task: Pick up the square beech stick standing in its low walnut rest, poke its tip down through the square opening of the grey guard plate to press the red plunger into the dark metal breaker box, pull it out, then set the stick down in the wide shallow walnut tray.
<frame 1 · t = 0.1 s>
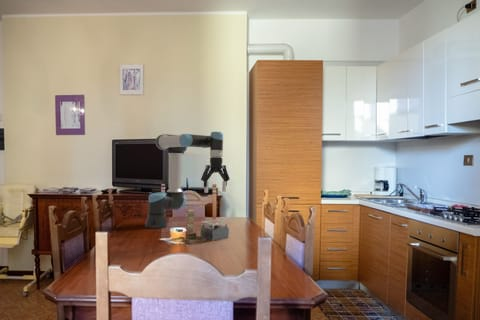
hand: (215, 192, 190), 28 cm above the table, fingers open, 13 cm apart
tray: (194, 242, 177), on the table
breaker box: (214, 238, 188), on the table
plunger: (214, 224, 188), point 8 cm above the table, slide at 0.0 cm
stick: (189, 237, 187), point 1 cm above the table, touching stand
stand: (189, 238, 187), on the table
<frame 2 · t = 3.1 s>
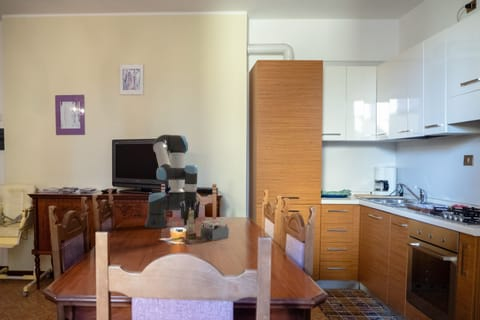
hand: (189, 230, 187), 5 cm above the table, fingers closed on stick, 3 cm apart
stick: (189, 236, 187), point 1 cm above the table, touching gripper, stand
everything else where it was.
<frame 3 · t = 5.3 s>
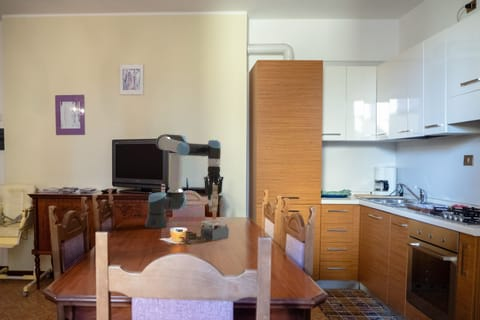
hand: (213, 205, 188), 20 cm above the table, fingers closed on stick, 3 cm apart
stick: (213, 211, 187), point 16 cm above the table, touching gripper
everything else where it was.
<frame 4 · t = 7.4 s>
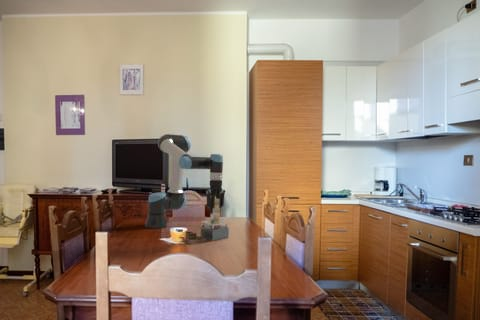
hand: (214, 218, 188), 12 cm above the table, fingers closed on stick, 3 cm apart
plunger: (214, 227, 188), point 7 cm above the table, slide at 1.8 cm, touching stick
stick: (214, 225, 188), point 8 cm above the table, touching gripper, plunger
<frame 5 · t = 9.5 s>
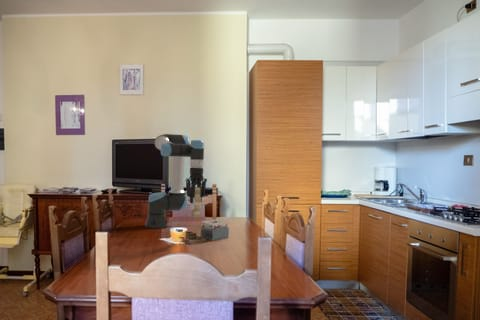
hand: (195, 208, 177), 19 cm above the table, fingers closed on stick, 3 cm apart
plunger: (214, 227, 188), point 7 cm above the table, slide at 1.8 cm
stick: (195, 215, 177), point 15 cm above the table, touching gripper
when the fingers open (6 cm above the table, at t = 11.2 s): stick drops 1 cm, resting on tray.
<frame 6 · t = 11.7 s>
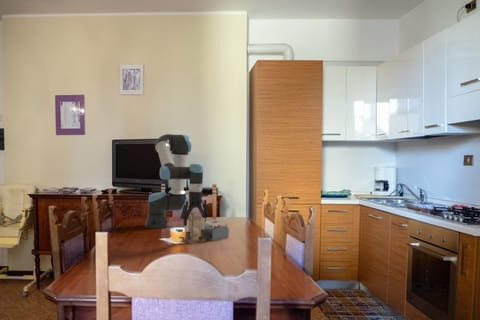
hand: (194, 230, 177), 7 cm above the table, fingers open, 10 cm apart
stick: (194, 241, 177), point 1 cm above the table, touching tray
everything else where it was.
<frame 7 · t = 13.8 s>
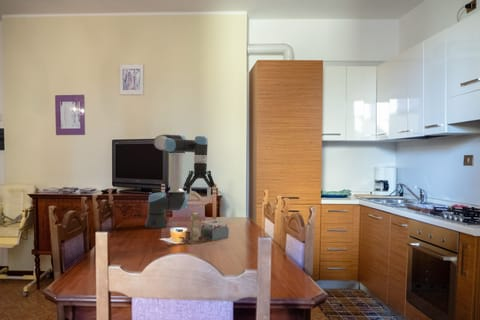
hand: (199, 198, 184), 24 cm above the table, fingers open, 13 cm apart
nothing on the table moved.
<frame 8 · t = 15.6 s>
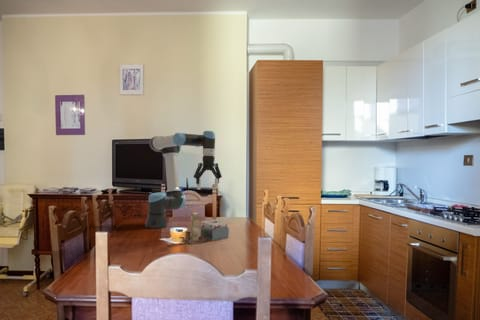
hand: (207, 189, 198), 29 cm above the table, fingers open, 13 cm apart
nothing on the table moved.
at the end: plunger slide at 1.8 cm; stick 0.1 cm from the tray (horizontally); stick point 0.8 cm above the table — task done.
